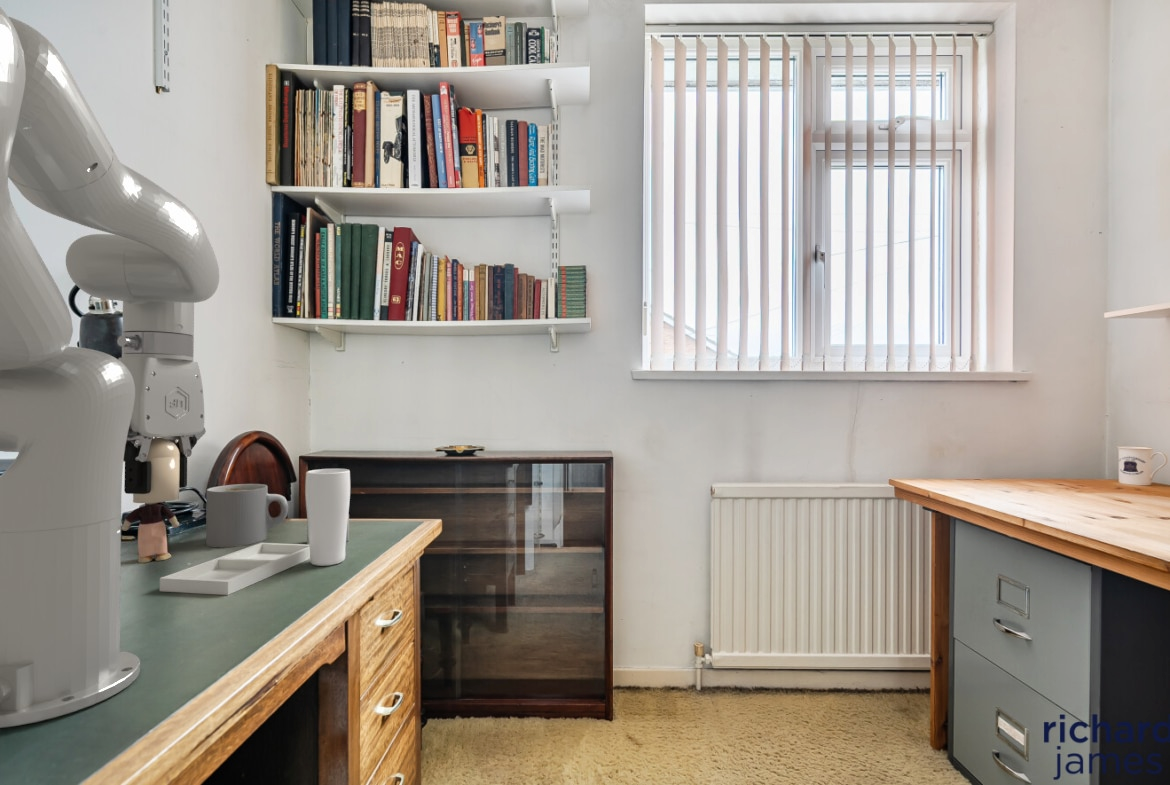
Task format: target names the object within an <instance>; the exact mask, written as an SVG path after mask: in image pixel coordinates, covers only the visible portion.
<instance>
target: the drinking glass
mask: <svg viewBox="0 0 1170 785" xmlns="http://www.w3.org/2000/svg"><path fill="white" fill-rule="evenodd" d="M304 484H305V487H304V488H305V491H304V493H305V494H304V495H305V508H306V520H307V521H308V533H309V544H308V545H310V559H309V563H310V564H312V565H313V566H317V567H323V566H324V567H327V566H329V567H330V566H335V565H337V564H340V563H342V562H344V561H345V559H346V546H347V545H346V544H347V542H346V535H347V524H348V514H349V512H350V501H351V500H350V499H351V471H350V469H347V468H321V469H320V468H319V469H312V470H308V471H306V472H305V483H304ZM349 515H350V514H349ZM307 521H306V522H307Z"/></svg>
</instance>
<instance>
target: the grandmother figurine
mask: <svg viewBox="0 0 1170 785" xmlns="http://www.w3.org/2000/svg"><path fill="white" fill-rule="evenodd" d="M158 503H159V502H157V503H144V504H145V505H144V506H143V505H142V506H139V507H137V508H135V509H134V510H132V511H131V512H129V513H128V514H127V515H126V516H125V517H124V519H125V520H124V521H123V524H121V531H126V532H127V531H128V530H129V529H130V526H131V525H132V524H133V523H136V522H139V521H140V522H139V525H138V530H137V548H138V549H137V550H138V557H139V558H138V559H137V562H138V563H140V564H143V563H144V564H145V563H149V562H152V561H153V559H154V558H153V556H154V555H157V556H156V557H155V559H154V560H155V561H159V562H160V561H166V560H168V559H171V558H172V555H171V554H170V553H169V552H168V540H167V530H166V523H165V521H164V518H165V519H167V520H168V522H169V523H170V525H171V527H172V528H178V527H179V526H180V522H179V521H178V519H177V517H176V514H175V513H174V512H173V511H172V510H171V508H169V507H168V506H166V505H164V504H158Z"/></svg>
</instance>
